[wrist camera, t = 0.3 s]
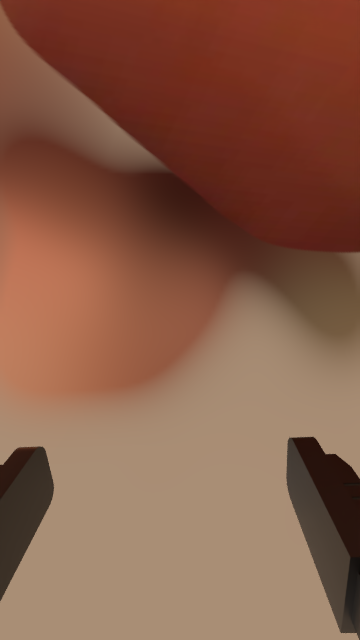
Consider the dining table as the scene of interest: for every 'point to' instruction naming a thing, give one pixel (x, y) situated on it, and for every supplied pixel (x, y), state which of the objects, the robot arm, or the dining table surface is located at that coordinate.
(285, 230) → the dining table surface
